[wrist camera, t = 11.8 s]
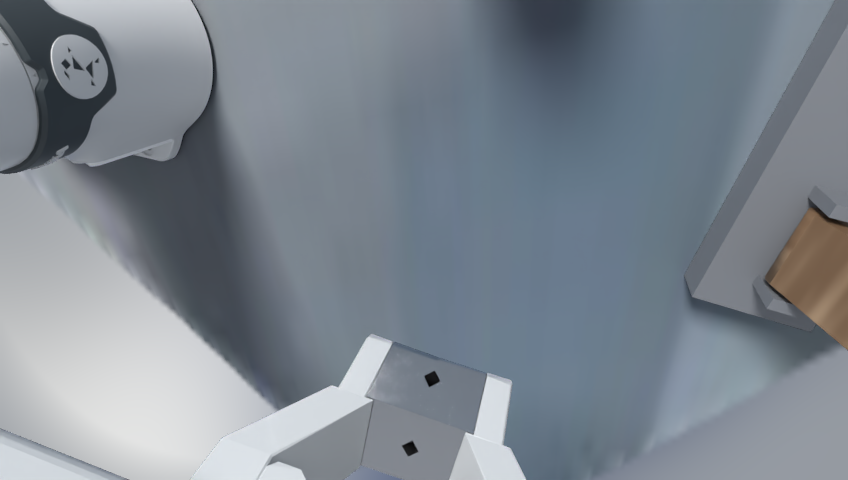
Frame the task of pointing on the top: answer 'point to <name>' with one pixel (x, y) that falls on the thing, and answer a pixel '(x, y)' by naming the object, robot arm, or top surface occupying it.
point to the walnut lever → (816, 272)
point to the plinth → (782, 184)
